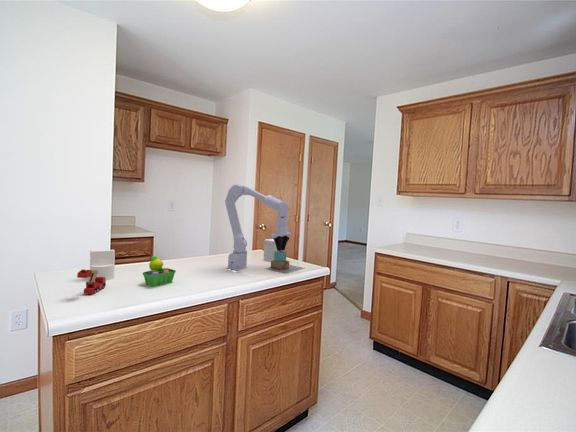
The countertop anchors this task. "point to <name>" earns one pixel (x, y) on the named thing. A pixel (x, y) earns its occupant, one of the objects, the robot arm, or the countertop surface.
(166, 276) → the fruit basket
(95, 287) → the toy fire truck
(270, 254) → the small box
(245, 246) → the robot arm
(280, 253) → the teal block
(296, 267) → the baseplate
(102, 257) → the base with upright slab
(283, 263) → the base brick
